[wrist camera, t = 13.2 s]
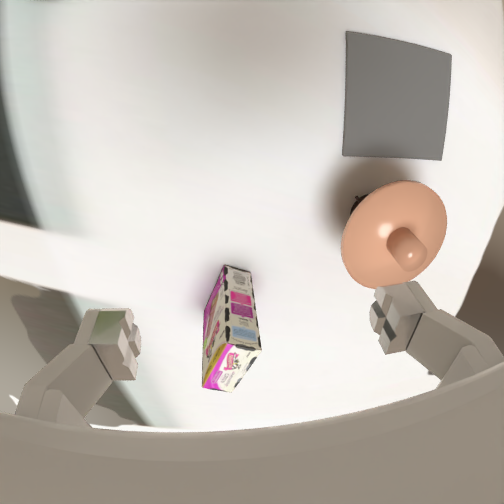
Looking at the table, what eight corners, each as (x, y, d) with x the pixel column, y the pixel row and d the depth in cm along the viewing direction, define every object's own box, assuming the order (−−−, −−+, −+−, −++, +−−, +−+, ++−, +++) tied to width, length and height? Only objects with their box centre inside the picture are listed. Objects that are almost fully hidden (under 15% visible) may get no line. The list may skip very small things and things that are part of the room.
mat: (345, 31, 32) (347, 31, 32) (449, 54, 34) (451, 54, 33) (342, 155, 42) (343, 156, 42) (439, 159, 44) (441, 160, 43)
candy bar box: (222, 263, 50) (226, 342, 37) (251, 271, 52) (264, 349, 38) (201, 311, 56) (200, 389, 42) (227, 318, 57) (233, 394, 43)
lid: (347, 180, 34) (365, 198, 30) (453, 181, 35) (476, 197, 31) (333, 291, 43) (345, 316, 38) (427, 277, 44) (443, 298, 40)
